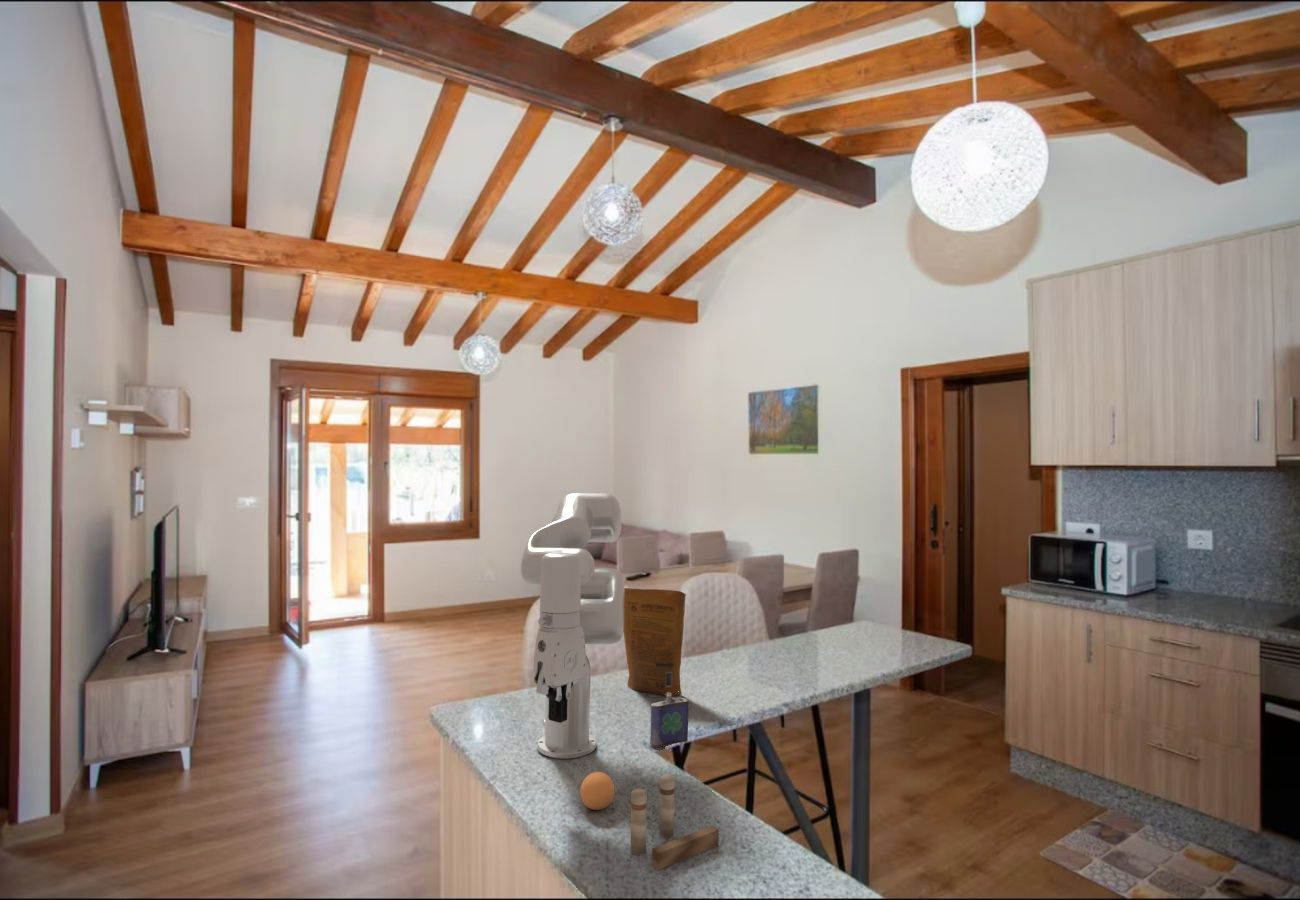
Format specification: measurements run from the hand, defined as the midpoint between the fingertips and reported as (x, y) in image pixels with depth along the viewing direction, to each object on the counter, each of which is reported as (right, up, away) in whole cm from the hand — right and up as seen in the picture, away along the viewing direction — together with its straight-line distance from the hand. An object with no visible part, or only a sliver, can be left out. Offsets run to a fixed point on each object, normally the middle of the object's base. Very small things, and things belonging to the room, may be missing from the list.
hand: (557, 720), depth 123 cm
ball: (+8, -10, -5) cm, 14 cm away
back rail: (+23, -13, -19) cm, 33 cm away
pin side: (+15, -13, -18) cm, 27 cm away
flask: (+21, -15, +24) cm, 35 cm away
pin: (+20, -13, -13) cm, 27 cm away
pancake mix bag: (+18, -16, +58) cm, 63 cm away
